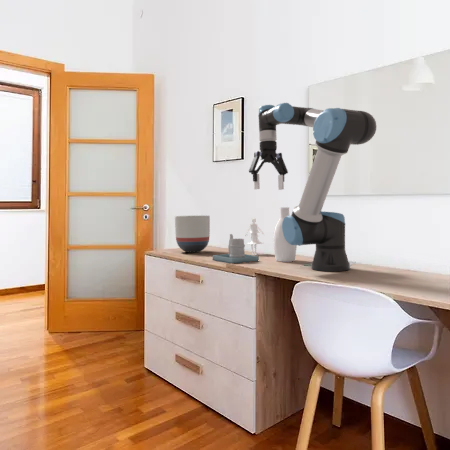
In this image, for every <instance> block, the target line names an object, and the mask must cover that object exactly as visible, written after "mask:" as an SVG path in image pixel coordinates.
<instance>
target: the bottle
mask: <svg viewBox="0 0 450 450" xmlns="http://www.w3.org/2000/svg"><path fill="white" fill-rule="evenodd" d="M288 215H290V207H288V206H287V207H284V206H283V207H279V219H278V220H277V222H276V224H275V228H274V231H273V238H272V240H273V241H272V242H273V251H274V252H273V253H274V257H275V261H276V262H278V261H281V262H280V263H290V262H291V263H292V261H293V262H295V260H296V256H297V255H296V254H297V248H298V247H297V246H298V245H291V244H289V243H288V242H287V241H286V240H285V238H284V235H283V231H282V223H283V219H284V218H285V217H286V216H288Z"/></svg>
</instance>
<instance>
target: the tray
mask: <svg viewBox="0 0 450 450" xmlns="http://www.w3.org/2000/svg"><path fill="white" fill-rule="evenodd" d="M229 255H230V254H229V253H226V254H224V253H223V254H215V255H214V254H213V255H212V261H216V262H219V263H226V264H230V263H237V264H243V263H242V262H246V263H251V262H250V261H256V262H259V261H260V259H259V258H260V257H259V255H252V254H245V255H246V256H245V257H243V258H230V256H229ZM258 260H259V261H258Z"/></svg>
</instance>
